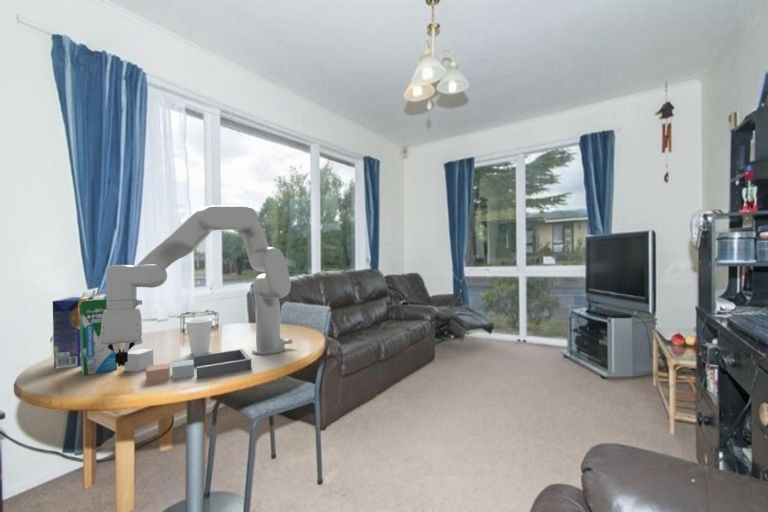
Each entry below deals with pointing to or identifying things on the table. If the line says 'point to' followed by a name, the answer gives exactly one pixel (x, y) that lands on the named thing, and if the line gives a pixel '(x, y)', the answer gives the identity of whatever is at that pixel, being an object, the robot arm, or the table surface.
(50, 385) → the table surface
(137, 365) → the light grey cube
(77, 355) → the juice carton
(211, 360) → the frame
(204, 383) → the table surface
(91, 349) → the milk carton
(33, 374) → the table surface
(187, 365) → the blue-grey block
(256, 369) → the table surface
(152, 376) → the reddish brown block
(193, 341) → the foam cup
